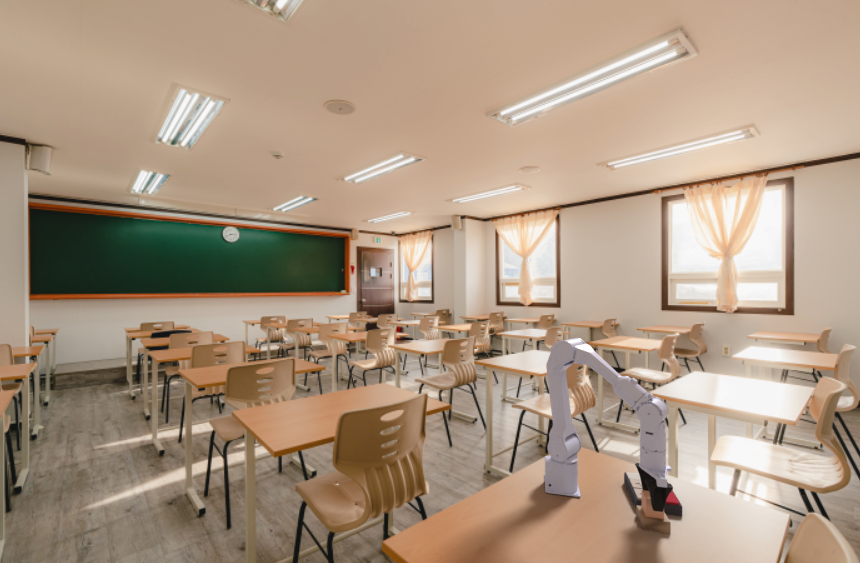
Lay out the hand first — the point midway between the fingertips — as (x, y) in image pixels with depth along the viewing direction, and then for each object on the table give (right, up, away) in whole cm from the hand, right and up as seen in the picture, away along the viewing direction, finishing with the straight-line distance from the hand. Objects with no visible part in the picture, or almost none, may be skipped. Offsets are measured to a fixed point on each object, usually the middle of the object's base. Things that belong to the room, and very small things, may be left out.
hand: (652, 502), depth 97 cm
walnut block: (0, -6, 0) cm, 6 cm away
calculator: (+6, -6, +12) cm, 15 cm away
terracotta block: (0, -3, 0) cm, 3 cm away
